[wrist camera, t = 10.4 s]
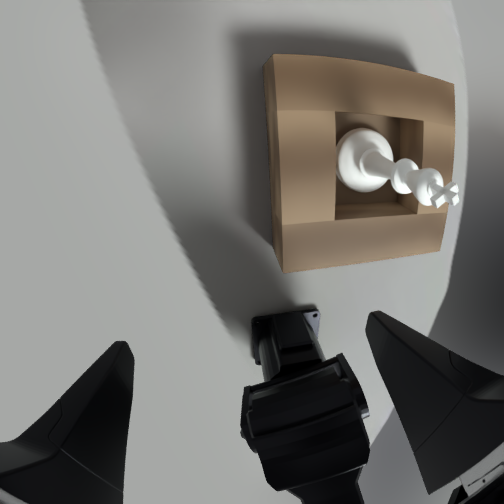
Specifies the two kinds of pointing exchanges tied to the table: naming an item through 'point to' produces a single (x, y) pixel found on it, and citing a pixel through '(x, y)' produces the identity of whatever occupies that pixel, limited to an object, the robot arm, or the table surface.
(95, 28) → the table surface
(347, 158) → the chess piece
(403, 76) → the tan wooden square block
